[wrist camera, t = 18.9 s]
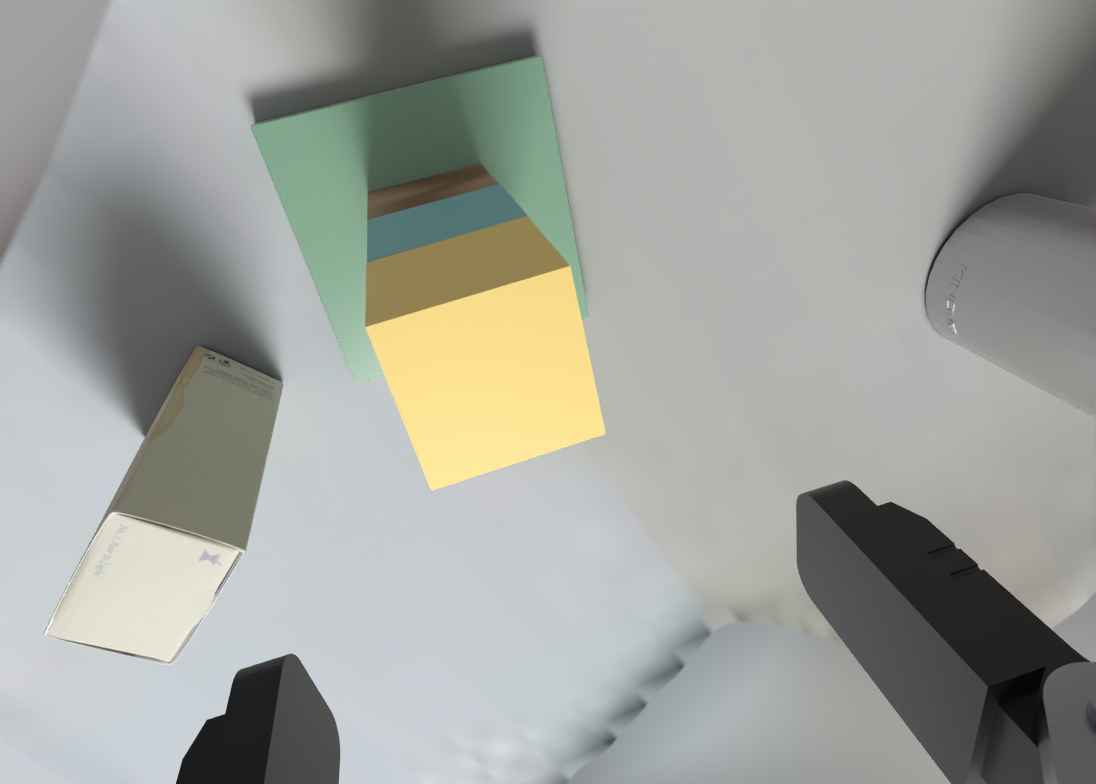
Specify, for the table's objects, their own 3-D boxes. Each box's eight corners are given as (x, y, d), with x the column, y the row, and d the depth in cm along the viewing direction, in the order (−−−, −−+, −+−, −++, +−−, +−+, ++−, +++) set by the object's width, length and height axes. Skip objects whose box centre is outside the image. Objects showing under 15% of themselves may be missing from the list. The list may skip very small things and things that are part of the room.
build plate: (535, 55, 28) (541, 55, 27) (582, 308, 34) (589, 316, 33) (255, 122, 27) (250, 126, 26) (356, 373, 33) (355, 384, 32)
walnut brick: (480, 163, 28) (500, 186, 24) (506, 270, 31) (528, 308, 27) (367, 192, 28) (367, 220, 24) (403, 299, 30) (409, 342, 26)
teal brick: (500, 183, 24) (528, 216, 20) (529, 306, 27) (559, 358, 22) (367, 219, 24) (366, 260, 19) (410, 341, 26) (417, 401, 22)
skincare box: (197, 341, 30) (107, 500, 20) (289, 383, 32) (251, 547, 22) (141, 443, 32) (32, 639, 22) (232, 477, 34) (172, 671, 24)
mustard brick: (527, 215, 20) (570, 265, 16) (560, 357, 22) (605, 433, 18) (366, 262, 19) (365, 327, 15) (419, 401, 22) (431, 491, 18)
